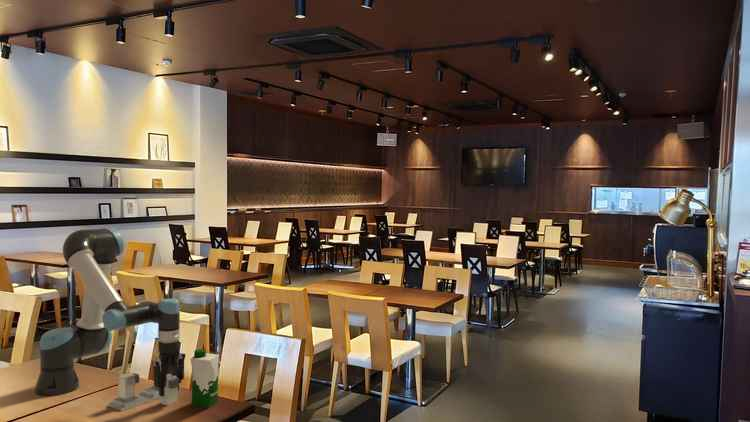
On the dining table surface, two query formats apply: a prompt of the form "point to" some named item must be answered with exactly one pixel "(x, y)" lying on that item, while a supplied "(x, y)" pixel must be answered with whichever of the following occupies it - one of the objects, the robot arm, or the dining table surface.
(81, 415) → the dining table surface
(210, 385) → the milk carton
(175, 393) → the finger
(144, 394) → the rail
